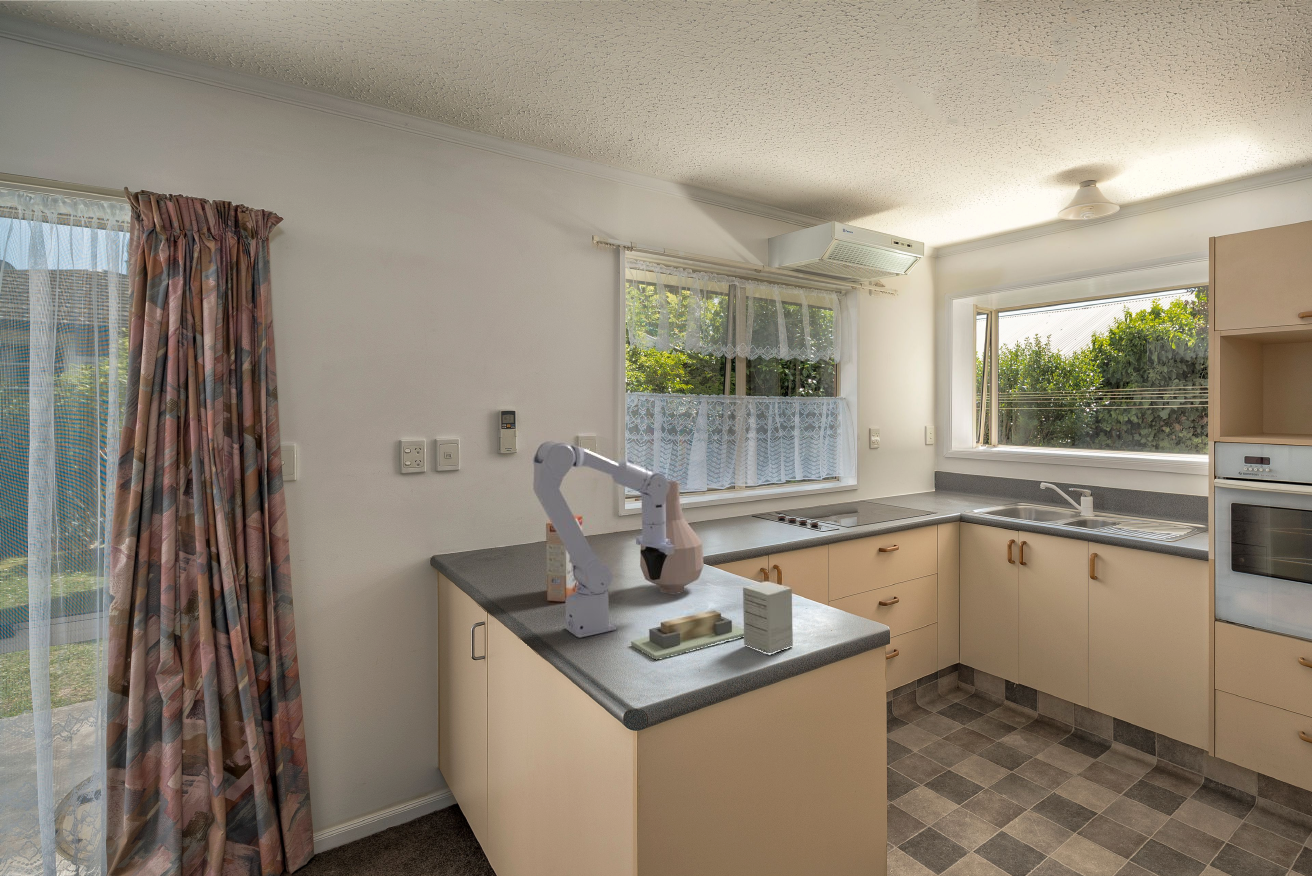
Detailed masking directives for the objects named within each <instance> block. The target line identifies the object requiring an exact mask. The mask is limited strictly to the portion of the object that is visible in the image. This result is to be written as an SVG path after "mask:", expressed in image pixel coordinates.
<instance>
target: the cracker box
mask: <svg viewBox="0 0 1312 876" xmlns="http://www.w3.org/2000/svg"><path fill="white" fill-rule="evenodd" d="M573 516H574V518H575V520H576V522H577V523H578V525H579V527H580V529H581V531H582V532H583V516H582V515H577V514H575V515H574V514H573ZM545 537H546V538H545V539H546V542H545V544H546V547H545V548H546V551H545V552H546V553H545V554H546V601H547V602H554V603H555V602H558V603H565V602H566V597H567V596H568V595H569V594H573V593H575V592H576V591H577V585H578V582H577V581H576V580H575V578H574V576H573V567H572V564H571V562H570V556H569V554H568V552H567V550H566V548H565V546H564V545H563V543H562V541H561V539H560V537H559V536H558V534H557V532H556V530H555V528H554V526H553V525H552V523H551V521H550V520H549V521H548V522H546V524H545Z"/></svg>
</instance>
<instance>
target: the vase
mask: <svg viewBox="0 0 1312 876" xmlns="http://www.w3.org/2000/svg"><path fill="white" fill-rule="evenodd" d="M668 484H670V489H669V492H668V493H667V495H666V538H667V539H670V542H669V543H670V544H671V545H674V554H669V555H668V556H667V557H666V559H665V562H664V564H663V568H662V572H661V577H660V579H657V580H651V579H650V577H649V573H648V569H647V566H646V563H645V560H644V558H643V556H642V555H641V553H640V552H639V553H640V556H639V557H640V558H639V559H640V561H639V562H640V564H639V567H640V569H641V572H642V574H643V577H644V580H646V581H648V582H649V583H651V584H654V586H655V585H656V586H658V587H659V588H660V592H661V593H663V592H664V593H665V594H671V593H674V594H679V592H680V593H683V592H684V591H685V587H687V586H688V585H690V584H691V583H694V582H696V581H698V580H699V579H700V576H701V573H702V571H703V568H704V566H705V565H704V549H703V548H704V547H703V542H702V540H701V539H700V538H699V536H698V535H697V534H696V532H695V531H694V530H693V528H692V527H691V526H690V525H689V523H688V522H687V520H686V519H685V517H684V513H683V509H682V505H681V500H680V499H681V498H680V481H677V480H675V481H674V480H669V481H668ZM645 548H646V546H643V545H640V550H644V549H645ZM682 591H683V592H682Z"/></svg>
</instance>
